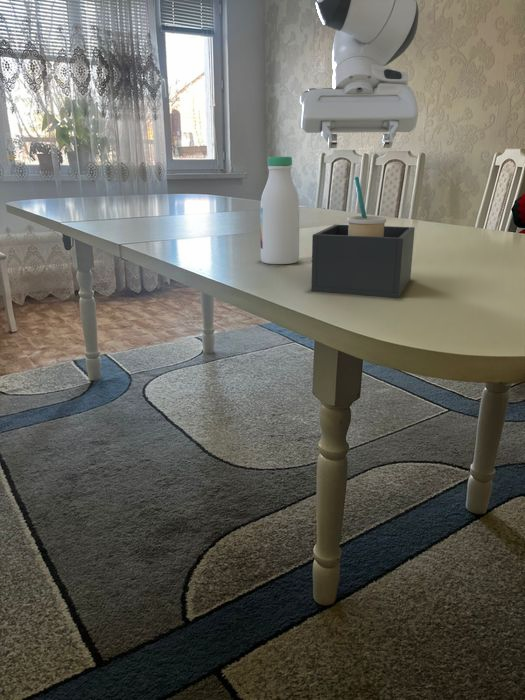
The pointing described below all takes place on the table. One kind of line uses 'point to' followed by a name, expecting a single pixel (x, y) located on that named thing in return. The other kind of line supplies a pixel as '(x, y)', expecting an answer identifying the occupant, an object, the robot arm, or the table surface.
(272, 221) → the milk bottle
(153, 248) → the table surface
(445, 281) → the table surface
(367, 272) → the bin
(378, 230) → the takeaway cup
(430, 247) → the table surface
